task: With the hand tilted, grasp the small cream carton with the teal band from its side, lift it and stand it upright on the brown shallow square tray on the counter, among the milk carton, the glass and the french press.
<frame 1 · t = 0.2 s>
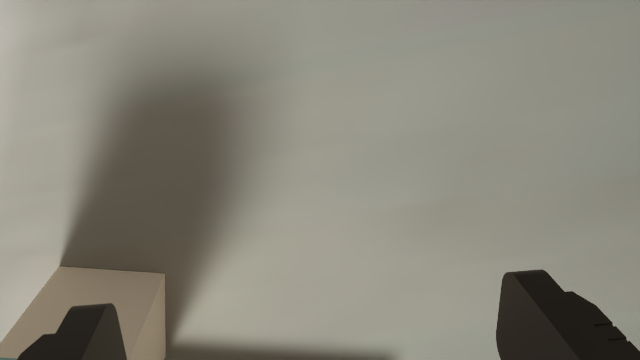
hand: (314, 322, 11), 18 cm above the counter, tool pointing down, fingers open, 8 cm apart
cream carton: (114, 312, 32), on the counter
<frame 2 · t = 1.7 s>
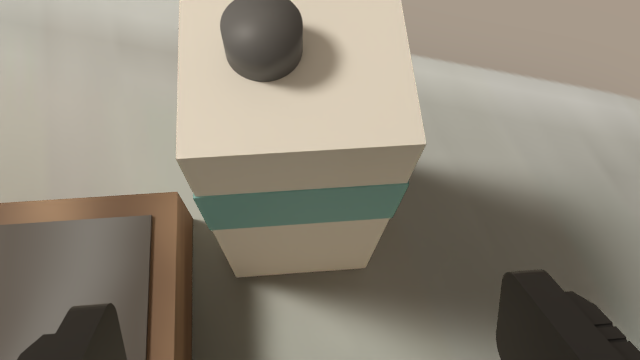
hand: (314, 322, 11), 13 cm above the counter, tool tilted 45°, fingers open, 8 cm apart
cream carton: (297, 211, 26), on the counter
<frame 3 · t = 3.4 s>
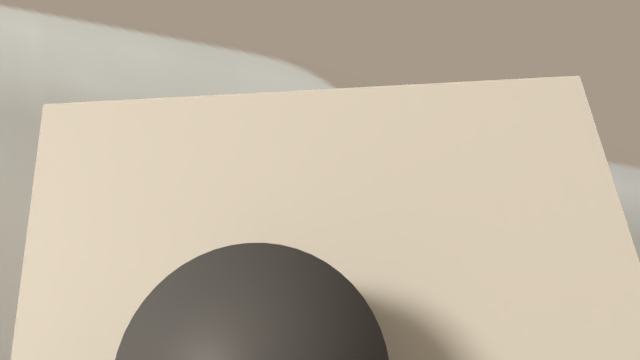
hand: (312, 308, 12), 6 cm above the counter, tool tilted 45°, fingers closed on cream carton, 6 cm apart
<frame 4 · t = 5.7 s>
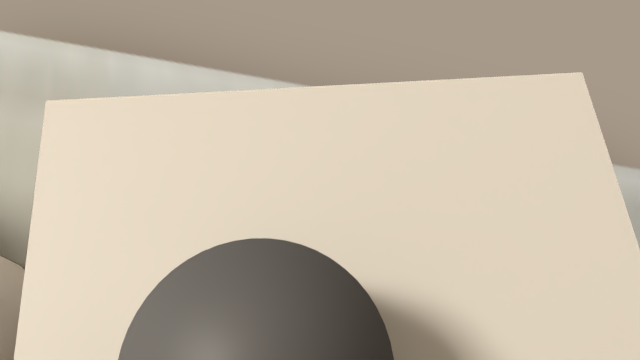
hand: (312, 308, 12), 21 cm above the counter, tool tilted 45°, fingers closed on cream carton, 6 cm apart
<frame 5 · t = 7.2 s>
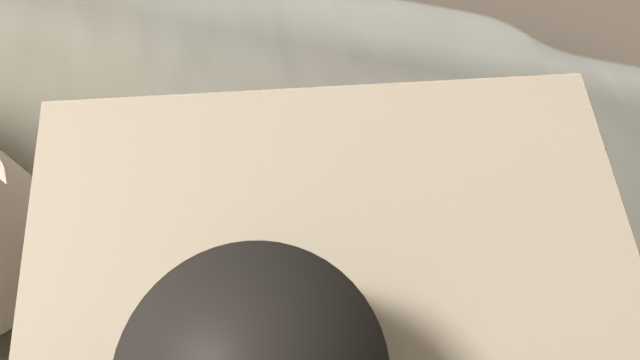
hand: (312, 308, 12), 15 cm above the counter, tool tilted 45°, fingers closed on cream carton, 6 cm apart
when the fingers open (11 cm above the counter, at t = 8.4 s): cream carton stays where it is, resting on brown shallow square tray.
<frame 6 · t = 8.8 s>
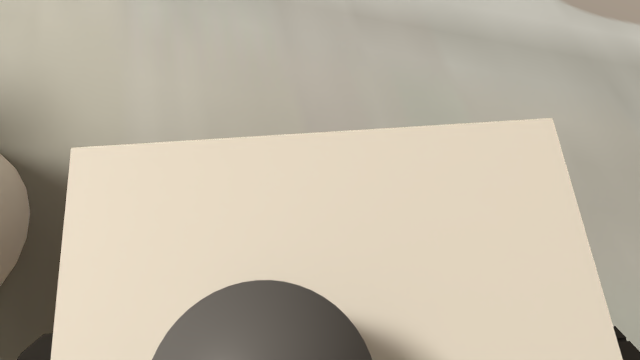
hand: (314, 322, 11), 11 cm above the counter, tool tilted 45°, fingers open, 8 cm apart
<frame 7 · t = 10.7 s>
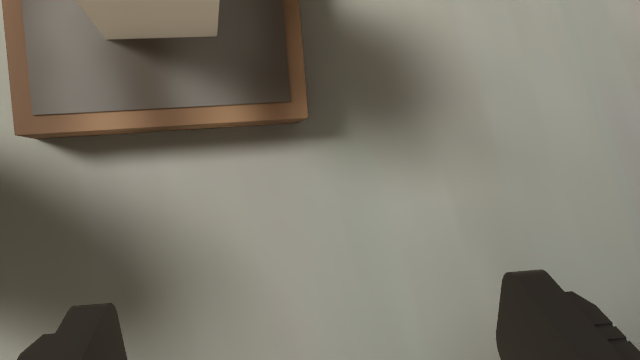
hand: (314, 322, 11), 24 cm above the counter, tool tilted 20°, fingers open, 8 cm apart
brown shallow square tray: (162, 2, 33), on the counter
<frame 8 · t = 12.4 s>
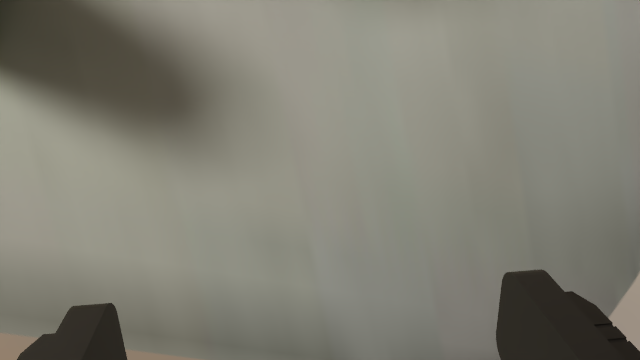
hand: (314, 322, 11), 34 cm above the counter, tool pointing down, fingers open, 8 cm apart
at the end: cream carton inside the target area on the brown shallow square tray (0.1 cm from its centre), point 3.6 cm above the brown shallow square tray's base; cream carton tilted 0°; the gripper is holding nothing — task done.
